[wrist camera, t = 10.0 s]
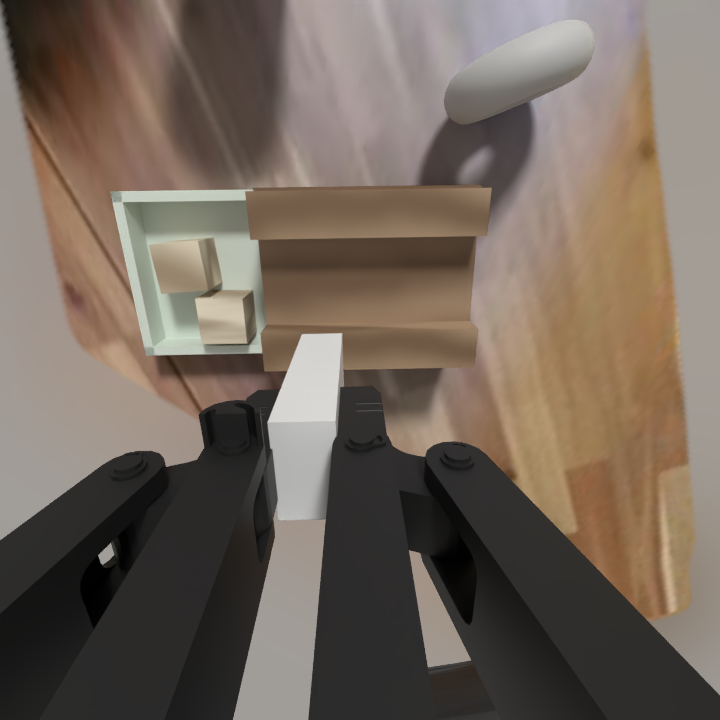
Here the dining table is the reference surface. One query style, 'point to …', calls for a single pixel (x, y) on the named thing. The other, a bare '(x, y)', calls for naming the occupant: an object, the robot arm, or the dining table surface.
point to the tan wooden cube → (186, 265)
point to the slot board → (370, 271)
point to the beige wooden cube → (226, 316)
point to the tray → (182, 222)
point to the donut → (520, 71)
